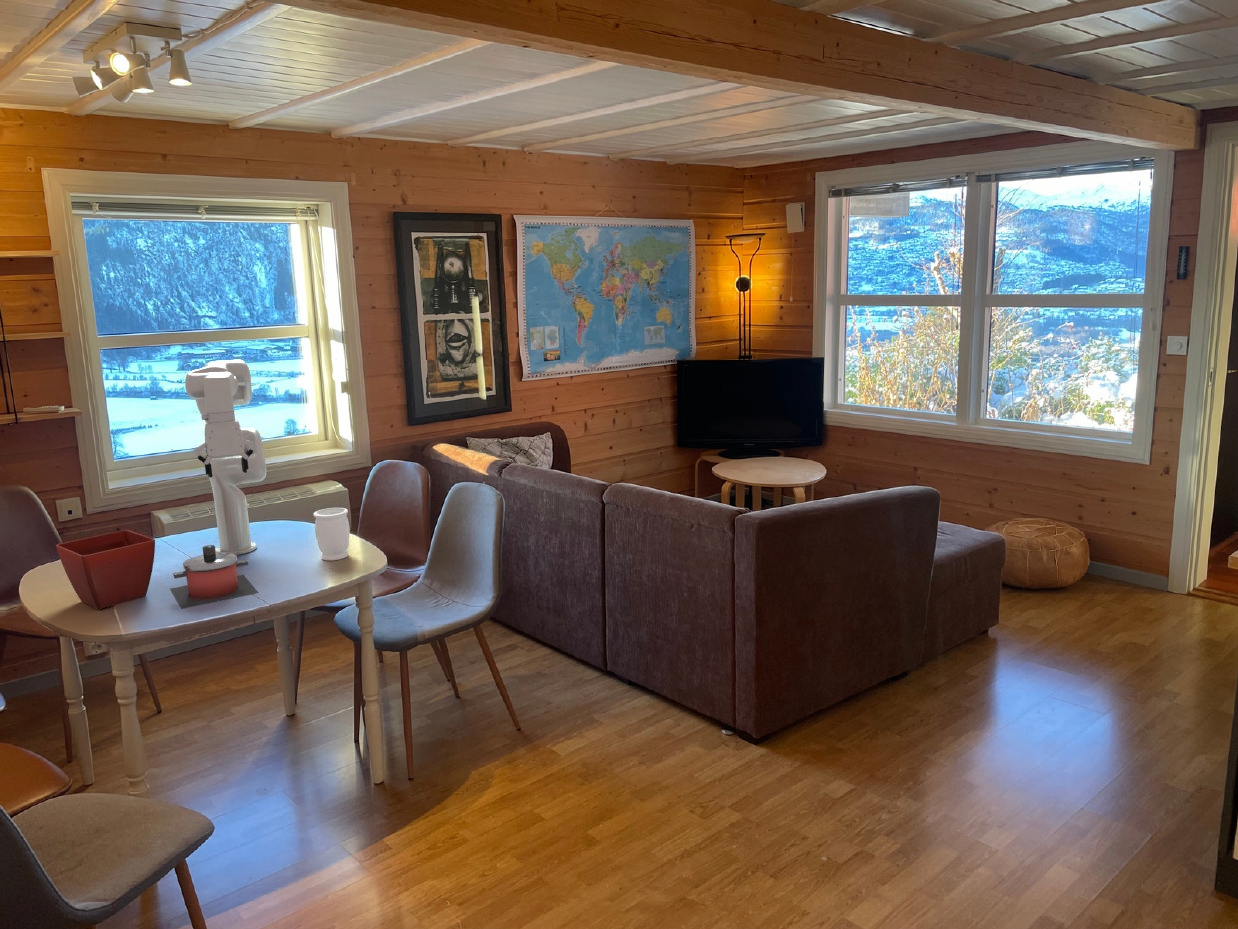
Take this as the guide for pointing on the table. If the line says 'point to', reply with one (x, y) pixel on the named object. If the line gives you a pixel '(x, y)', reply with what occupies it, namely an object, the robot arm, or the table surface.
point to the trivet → (187, 601)
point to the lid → (209, 560)
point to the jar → (332, 533)
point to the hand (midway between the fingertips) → (227, 474)
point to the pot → (212, 581)
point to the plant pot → (109, 567)
